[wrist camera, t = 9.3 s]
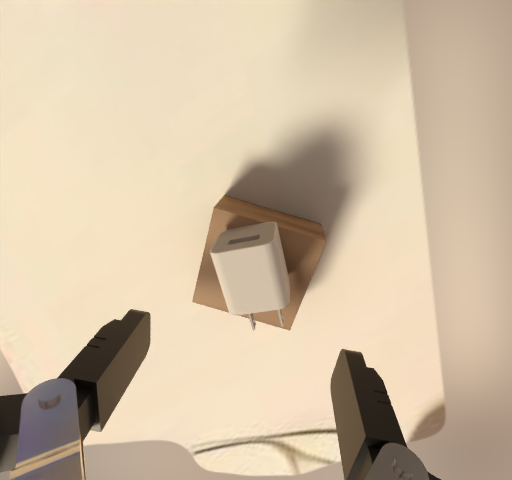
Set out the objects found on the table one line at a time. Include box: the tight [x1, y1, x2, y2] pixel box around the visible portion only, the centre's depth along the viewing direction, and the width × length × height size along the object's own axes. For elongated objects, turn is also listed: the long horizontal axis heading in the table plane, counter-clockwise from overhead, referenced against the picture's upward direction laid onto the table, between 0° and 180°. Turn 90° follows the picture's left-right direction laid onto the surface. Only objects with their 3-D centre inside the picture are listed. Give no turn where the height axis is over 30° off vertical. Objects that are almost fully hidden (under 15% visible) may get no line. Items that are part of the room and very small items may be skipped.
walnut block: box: [192, 195, 326, 330], centre depth 24 cm, size 8×8×4 cm
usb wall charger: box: [210, 222, 290, 330], centre depth 20 cm, size 4×7×4 cm, turn 13°
